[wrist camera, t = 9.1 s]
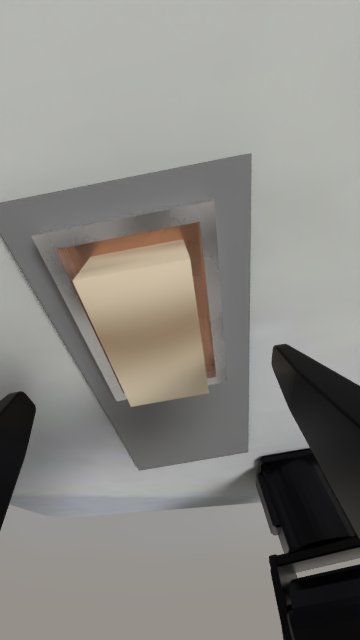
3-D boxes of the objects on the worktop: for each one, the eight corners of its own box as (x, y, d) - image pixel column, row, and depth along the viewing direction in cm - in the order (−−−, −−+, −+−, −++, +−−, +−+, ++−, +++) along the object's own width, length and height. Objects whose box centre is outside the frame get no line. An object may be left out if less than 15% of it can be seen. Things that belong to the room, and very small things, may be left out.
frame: (209, 197, 9) (214, 200, 8) (223, 369, 14) (227, 381, 14) (42, 229, 9) (31, 236, 8) (118, 388, 14) (116, 401, 14)
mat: (247, 154, 9) (251, 153, 8) (246, 446, 21) (248, 452, 21) (-8, 204, 9) (-16, 206, 8) (139, 464, 21) (139, 470, 21)
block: (201, 358, 14) (209, 393, 11) (135, 370, 14) (130, 406, 12) (183, 239, 10) (190, 258, 8) (90, 256, 10) (72, 280, 8)
